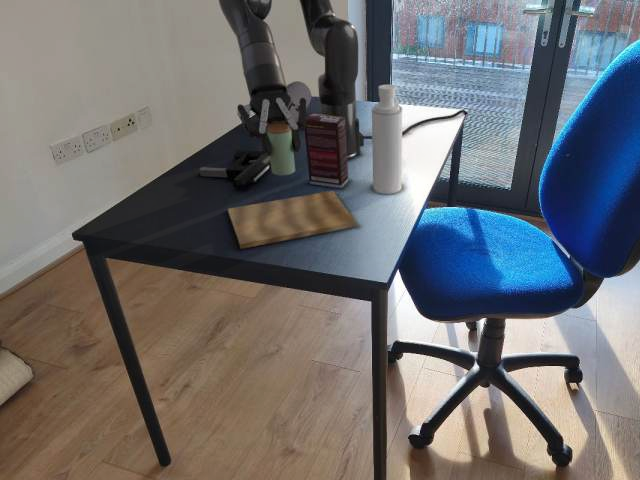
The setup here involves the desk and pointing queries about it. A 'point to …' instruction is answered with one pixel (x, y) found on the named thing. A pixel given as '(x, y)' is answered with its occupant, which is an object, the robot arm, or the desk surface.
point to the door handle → (241, 168)
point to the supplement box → (326, 150)
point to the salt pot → (281, 149)
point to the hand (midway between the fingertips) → (283, 151)
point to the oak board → (289, 219)
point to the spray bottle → (387, 142)
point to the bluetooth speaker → (296, 92)
